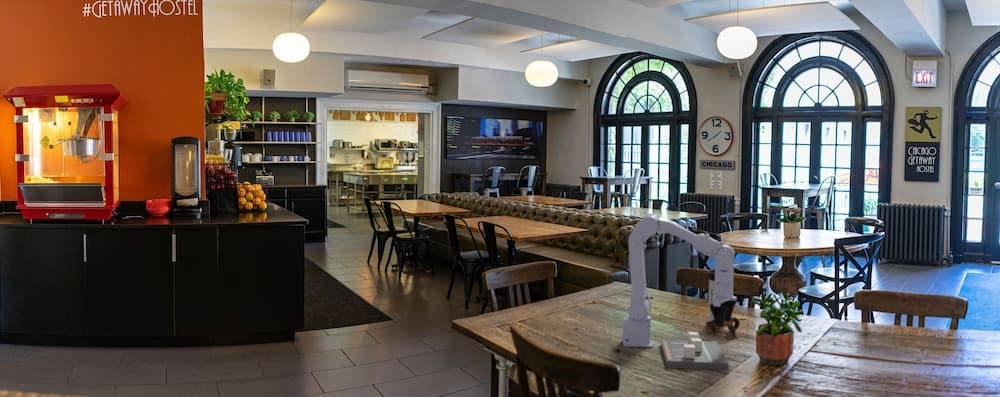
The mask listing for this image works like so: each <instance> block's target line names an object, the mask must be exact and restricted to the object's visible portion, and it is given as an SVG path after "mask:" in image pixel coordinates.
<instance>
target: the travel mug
mask: <svg viewBox="0 0 1000 397" xmlns="http://www.w3.org/2000/svg"><path fill="white" fill-rule="evenodd" d="M708 278H709V279H708V308H707V309H708V310H707V312H708V313H707V315H708V319H707V322H709V321H712V320H714V316H713V313H712V311H711V309H710V304H711V303H712V304H713V301H714V294H715V268H714V269H711V270H709V277H708Z"/></svg>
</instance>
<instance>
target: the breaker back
mask: <svg viewBox="0 0 1000 397" xmlns="http://www.w3.org/2000/svg"><path fill="white" fill-rule="evenodd" d="M691 338H700V334H699V332H696V331H687V341H688V343H689V345H691Z"/></svg>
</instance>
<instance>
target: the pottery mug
mask: <svg viewBox="0 0 1000 397" xmlns="http://www.w3.org/2000/svg"><path fill="white" fill-rule="evenodd" d="M733 323H734V324H733ZM705 324H706V331H708V330H710V331H711V332H712V333H715V332H716V331H717V328H718V327H717V326H716V325H715V321H714V320H712V321H709V322H708V321H707V322H705ZM723 326H725V327H727V328H728V332H726V333H725V336H726V340H731V339H734V338H736V337H737V336H736V331H737V330H738V328H739V327H740V320H739V318H737V317H734V316H733V317H731V320H730V322H727V321H724V324H723Z"/></svg>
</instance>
